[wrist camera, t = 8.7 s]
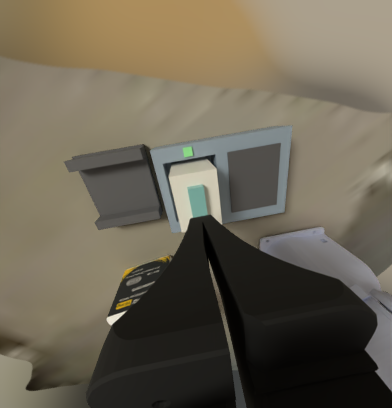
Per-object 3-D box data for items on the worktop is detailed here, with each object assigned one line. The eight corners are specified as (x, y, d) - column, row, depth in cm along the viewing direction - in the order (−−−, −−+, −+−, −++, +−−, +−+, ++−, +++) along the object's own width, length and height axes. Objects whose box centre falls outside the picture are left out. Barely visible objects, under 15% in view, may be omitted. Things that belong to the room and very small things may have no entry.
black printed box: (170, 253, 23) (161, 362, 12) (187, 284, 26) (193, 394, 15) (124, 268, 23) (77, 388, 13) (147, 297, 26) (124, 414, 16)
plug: (204, 156, 17) (218, 170, 11) (210, 198, 19) (224, 228, 13) (171, 162, 17) (168, 179, 11) (181, 203, 19) (182, 236, 13)
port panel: (274, 126, 17) (293, 125, 14) (270, 201, 21) (285, 212, 18) (154, 147, 17) (149, 150, 14) (173, 219, 21) (172, 234, 18)
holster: (143, 144, 17) (139, 146, 15) (162, 211, 20) (160, 220, 18) (76, 155, 17) (62, 159, 15) (107, 221, 20) (99, 231, 18)
